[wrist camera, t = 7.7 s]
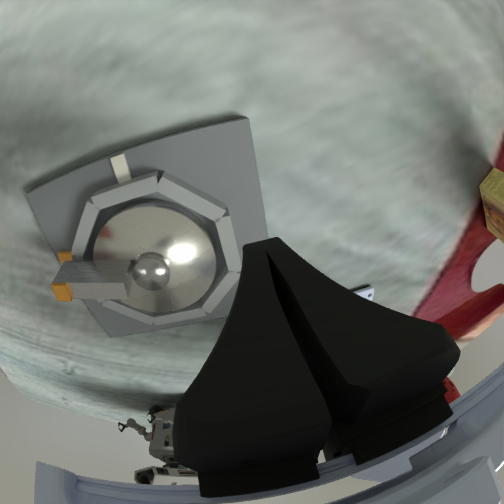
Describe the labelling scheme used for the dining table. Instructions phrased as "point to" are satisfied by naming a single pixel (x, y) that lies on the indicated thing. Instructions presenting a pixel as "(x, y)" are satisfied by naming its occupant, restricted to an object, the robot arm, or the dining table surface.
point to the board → (166, 189)
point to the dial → (144, 260)
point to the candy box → (494, 202)
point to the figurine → (161, 452)
